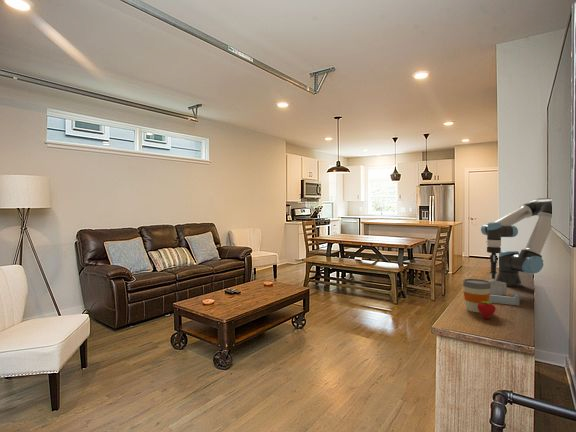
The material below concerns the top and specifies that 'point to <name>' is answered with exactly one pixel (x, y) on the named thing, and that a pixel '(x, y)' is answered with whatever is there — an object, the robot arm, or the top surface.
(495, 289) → the teacup
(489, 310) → the strawberry
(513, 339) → the top surface
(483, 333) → the top surface
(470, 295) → the reusable coffee cup
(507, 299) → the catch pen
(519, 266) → the robot arm
